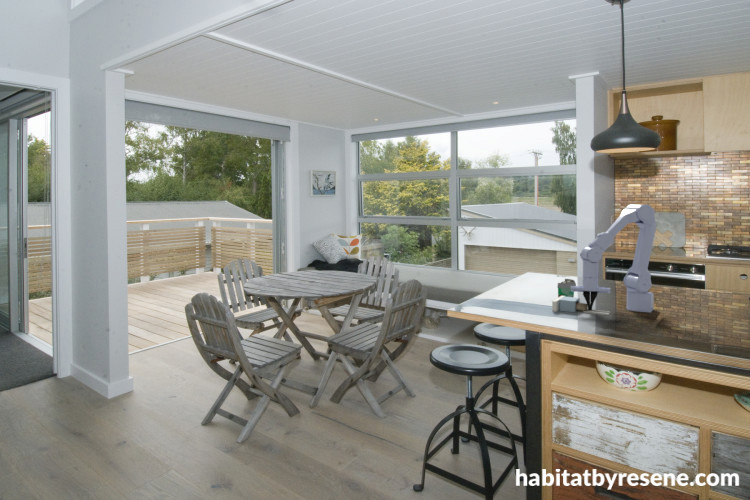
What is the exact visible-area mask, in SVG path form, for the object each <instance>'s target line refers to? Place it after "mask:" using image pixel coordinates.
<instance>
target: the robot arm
mask: <svg viewBox="0 0 750 500" xmlns="http://www.w3.org/2000/svg"><path fill="white" fill-rule="evenodd" d="M655 214H656V210H655V209H654V208H653V206H651V205H650V204H646V203H645V204H641V203H640V204H637V203H636V204H635V203H629V204H628V205H627V206H626V207H625V208H624V209H623V210H622V211H621V213H620V214H619V216H618V217H617V218H616V220H615V221H614V222H613V223H612V224H611V225H610V227H609V228H608V229H607V230H606V231H603V232H600V233H597V235H596V237H595V238H594V239H593V240H592V242H589V243H588V246H586V247H584V248H583V249H582V250H581V253H579V257H580V259H581V260H582V285H580V286H579V285H576V286H571V292H574V293H575V292H578V293H582V295H583V298H584V300H585V302H586V304H587V306H588V308H587V309H588V310H593V305H594V303H595V300H596V298H597V296H598V294H599V293H600V294H609V295H610V294H611V287H603V286H602V287H601V286H599V263H600V262H599V261H601V260H602V257H603V253H605V251H606V250H607V249H608V248H609V247H610V246H611V245H612V244H613V243H614V237H615V236H616V235H617V234H619V233H620V232H621V231H622V230H623V229H624V228H625V227H626V226H627V225H628V224H631V223H635V224H636V226H637V227H638V228H639V232H638V237H637V241H636V246H635V251H634V255H633V256H634V257H633V261H632V265H631V266H630V267H629V268H628V269H627V273H626V274H625V276H624V277H623V281H622V282H623V285H624V286H625V287H626V310H627V311H631V312H642V313H650V314H651V313H652V312H653V311H654V301H655V299H654V297H655V295H654V292H651V291H650V290H651V287H652V284H653V283H652V279H651V278H652V277H651V276H652V274H651V272H650V271H649V269H648V268H649V263H650V259H651V254H652V249H653V245H654V239H655V236H656V229H657V222H656V218H655Z"/></svg>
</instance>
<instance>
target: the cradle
mask: <svg viewBox="0 0 750 500" xmlns="http://www.w3.org/2000/svg"><path fill="white" fill-rule="evenodd" d="M582 312H583V313H584V314H592V315H601V316H609V315H610V314H611V311H609V310H599V309H592V310H588V308H587V311H582Z"/></svg>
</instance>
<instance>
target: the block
mask: <svg viewBox="0 0 750 500" xmlns="http://www.w3.org/2000/svg"><path fill="white" fill-rule="evenodd" d="M576 303H581V302H580V297H575V296H574V297H563V298H562V299H560V310H559V311H561V312H562V311H563V312H567V313H568V312H571V313H576V312H577V311H578V310H576Z"/></svg>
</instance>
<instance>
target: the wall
mask: <svg viewBox="0 0 750 500" xmlns="http://www.w3.org/2000/svg"><path fill="white" fill-rule="evenodd" d="M563 297H565V296H560V297H557V298H555V299H554V300H552V302H551V303H552V304H551V306H552V307H551V310H552V312H555V313H557V312H558V311H560V299H562V298H563Z"/></svg>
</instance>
